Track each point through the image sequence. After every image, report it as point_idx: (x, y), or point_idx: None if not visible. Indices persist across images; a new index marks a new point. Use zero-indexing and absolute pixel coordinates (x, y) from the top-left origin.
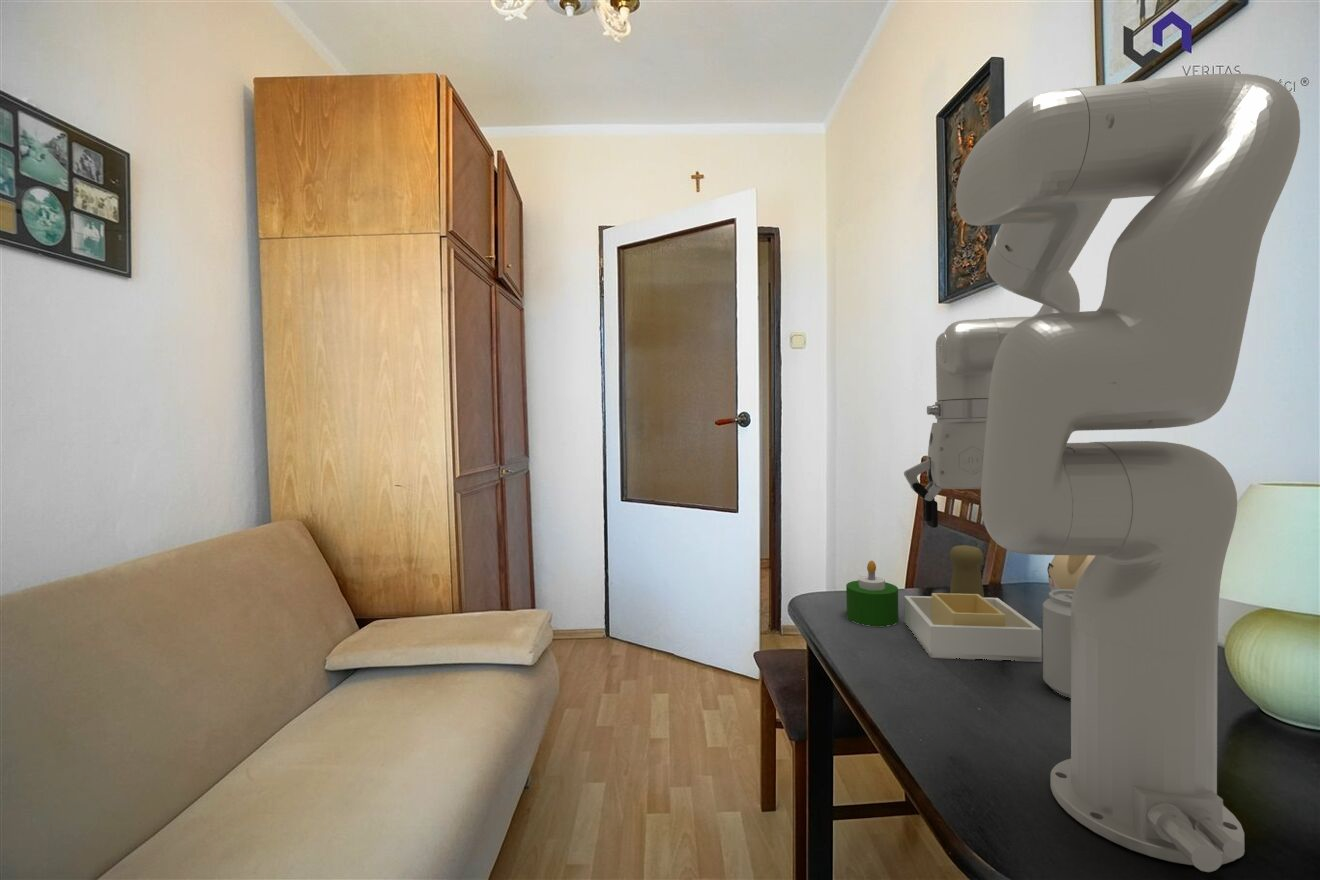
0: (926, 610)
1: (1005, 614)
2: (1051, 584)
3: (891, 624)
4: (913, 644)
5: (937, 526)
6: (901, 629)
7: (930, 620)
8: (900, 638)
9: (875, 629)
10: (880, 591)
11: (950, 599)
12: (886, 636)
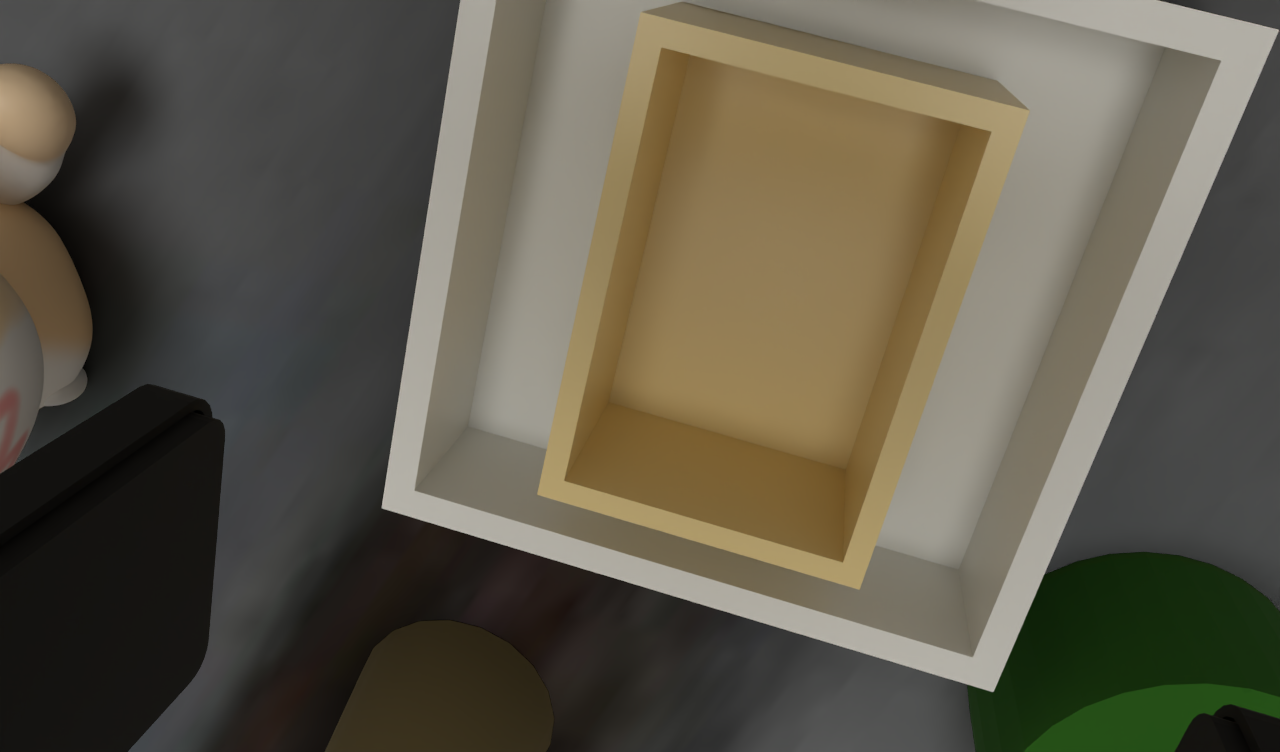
0: None
1: (458, 316)
2: (8, 424)
3: (1092, 563)
4: None
5: (1199, 717)
6: None
7: None
8: (1175, 359)
9: (1237, 528)
10: None
11: (745, 512)
12: (1246, 407)
